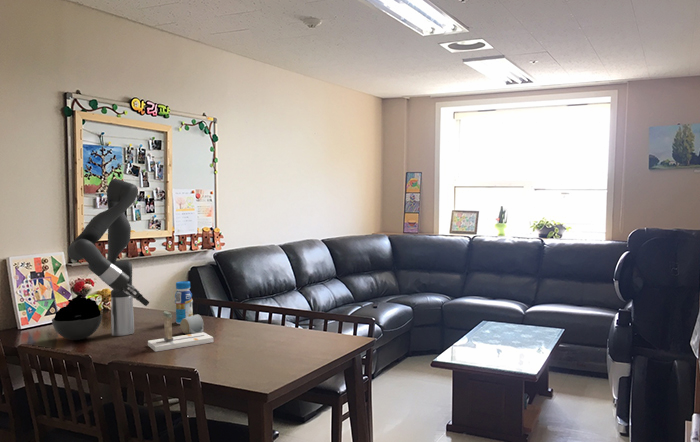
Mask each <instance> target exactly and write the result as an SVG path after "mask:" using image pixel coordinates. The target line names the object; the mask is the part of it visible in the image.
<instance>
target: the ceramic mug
mask: <svg viewBox="0 0 700 442" xmlns="http://www.w3.org/2000/svg"><path fill="white" fill-rule="evenodd" d="M179 325H180V329H181V331H182V333H183V334H185V335H188V334H196V333H202V332H204V326H205V325H204V320H203V317H202V316H201V315H200V314H198V313H197V314H194V315H193V316H190V317H186V318H184V319H182V321H181V324H179Z"/></svg>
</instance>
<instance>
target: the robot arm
mask: <svg viewBox="0 0 700 442" xmlns="http://www.w3.org/2000/svg"><path fill="white" fill-rule="evenodd" d="M138 193H139V188H138V186H137V185H136V184H134V183H131V182H128V181H125V180H123V179H122V180H121V179H118V178H113V179H111V180H110V181H109V183H108V185H107V190H106V201H107V202H106V203H107V209H105V210H104V211H102V212H99V213H98V214H96V215H95V216H93V218H91V219H90V220H89V222H88V223H87V224H86V226H85V227H84V228H83V230H82V231H81V233H80V234H79V235H77V236H76V237H75V239H74V240H73V241H72V242H71V243H70V244H69V246H68V248H67V255H68V257H69V258H70V259H71V260H72V261H81V260H85V261H86V263H87V264H88V265H87V268H88V269H89V270H90V272H92V273H93V274H94V275H96V277H97V276H98V278H99V279H100V280H101V281H102V282H104V284H106V285H107V286H108V287H110V288H111V289H112V290H111V291H110V305H111V307H110V309H111V314H110V327H111V328H110V331H111V336H118V337H119V336H128V335H132V334H134V333H135V319H134V299H135V300H136V301H138V302H140V303H141V304H142V305H143V306H145V307H147V306H148V305H149V304H150V301H149V300H148V299H147V298H145V297H144V295H143V294H142V293H140V291H139V290H138V289H137V288H136V286H134V285H133V265H132V262H131V261H130V260H127V259H126V260H117V259H118V257H119V256H120V255H121V253H122V252H123V251H124V250H125V249H126V247H127V246H128V245H129V243H130V242H131V241H130V240H131V234H132V229H131V224H130V222H129V220H128V218H127V216H126V214H125V212H126V211H127V210H128V209H129V208H130V207H131V206H133V205H132V204H133V203H134V202H135V201H136V199H137V197H138V195H139V194H138ZM106 232H107V258H106V257H105V256H103V254H102V253H101V251H100V250H99V248H98V247H97V246H96V245H95V244H96V243H98V242H99V241H100V240H101V239H102V238H103V236H104V234H105V233H106Z"/></svg>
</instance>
